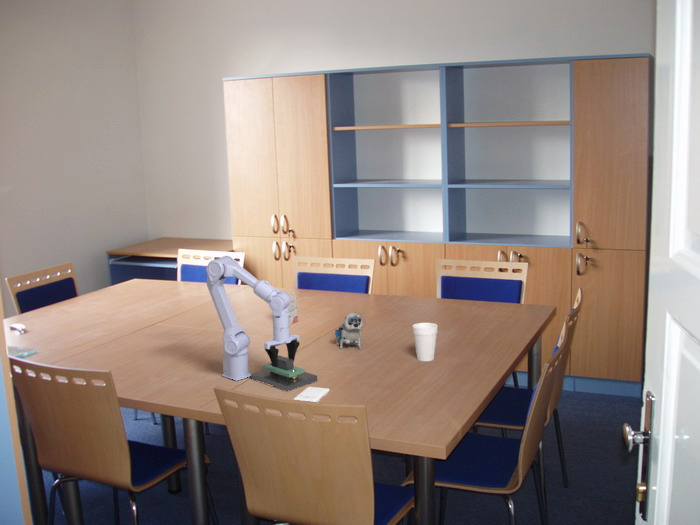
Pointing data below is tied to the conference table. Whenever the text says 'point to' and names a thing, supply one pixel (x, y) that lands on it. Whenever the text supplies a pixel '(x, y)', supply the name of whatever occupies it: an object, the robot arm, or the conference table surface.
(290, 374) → the board
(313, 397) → the external hard drive
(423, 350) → the foam cup
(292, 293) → the ink cartridge box
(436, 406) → the conference table surface
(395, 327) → the conference table surface
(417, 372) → the conference table surface
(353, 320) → the robotic toy
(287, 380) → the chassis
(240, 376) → the robot arm
